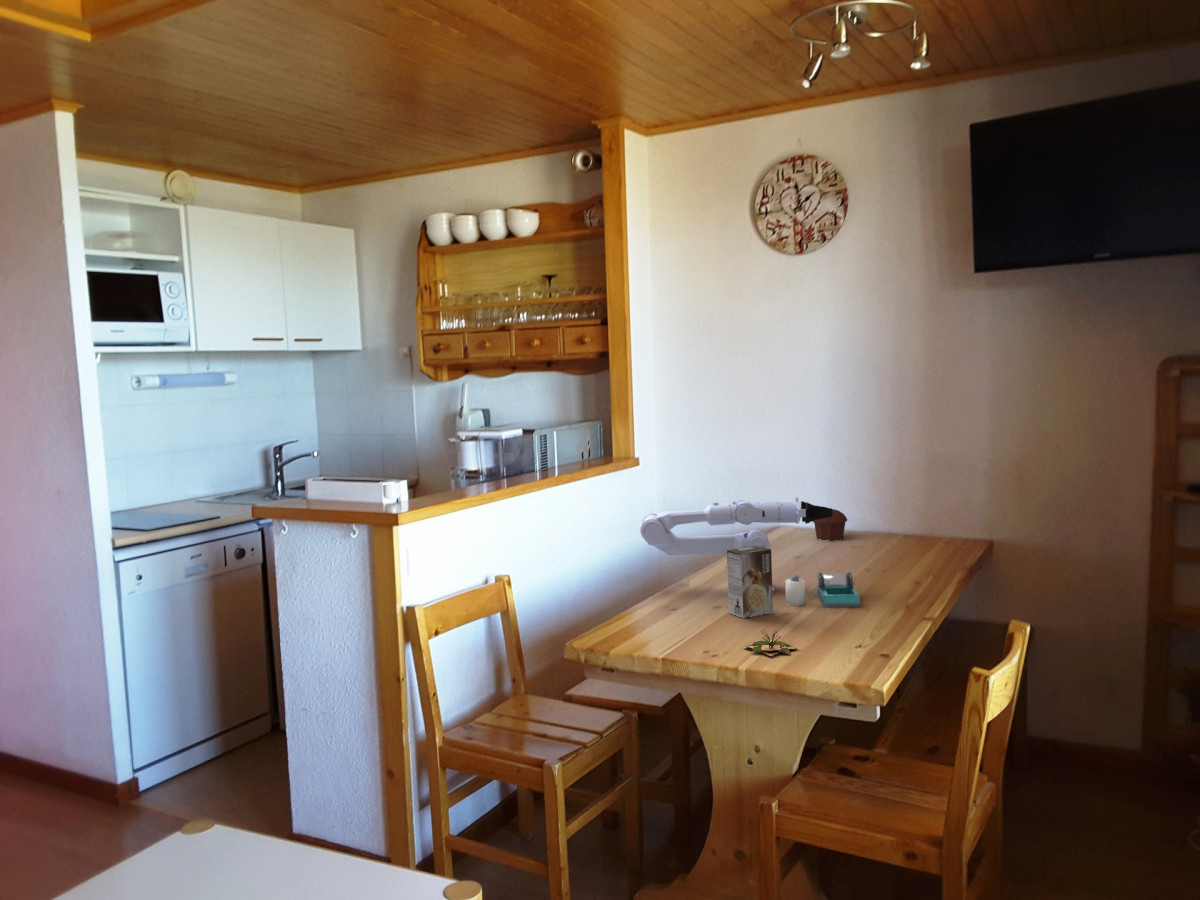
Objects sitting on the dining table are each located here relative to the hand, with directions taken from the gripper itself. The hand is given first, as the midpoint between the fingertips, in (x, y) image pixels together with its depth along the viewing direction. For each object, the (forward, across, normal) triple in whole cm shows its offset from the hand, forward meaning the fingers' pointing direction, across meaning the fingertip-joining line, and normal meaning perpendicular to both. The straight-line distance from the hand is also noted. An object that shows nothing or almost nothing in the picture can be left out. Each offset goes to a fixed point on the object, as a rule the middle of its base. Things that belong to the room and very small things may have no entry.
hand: (830, 512), depth 257 cm
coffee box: (-23, -22, +24) cm, 40 cm away
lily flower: (-20, -51, +28) cm, 62 cm away
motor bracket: (0, -10, +22) cm, 24 cm away
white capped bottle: (-11, -13, +23) cm, 28 cm away
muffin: (+9, +71, +12) cm, 72 cm away
